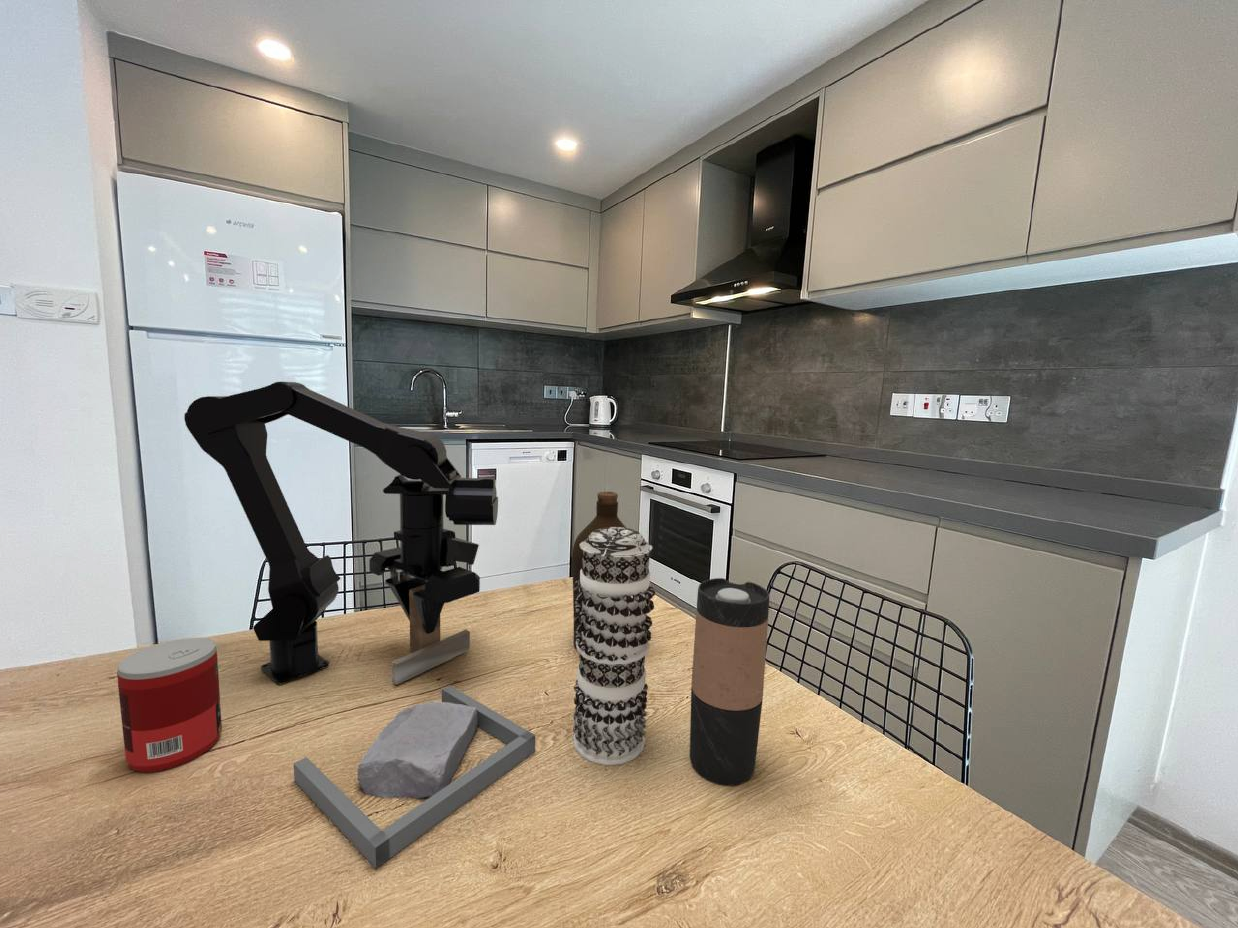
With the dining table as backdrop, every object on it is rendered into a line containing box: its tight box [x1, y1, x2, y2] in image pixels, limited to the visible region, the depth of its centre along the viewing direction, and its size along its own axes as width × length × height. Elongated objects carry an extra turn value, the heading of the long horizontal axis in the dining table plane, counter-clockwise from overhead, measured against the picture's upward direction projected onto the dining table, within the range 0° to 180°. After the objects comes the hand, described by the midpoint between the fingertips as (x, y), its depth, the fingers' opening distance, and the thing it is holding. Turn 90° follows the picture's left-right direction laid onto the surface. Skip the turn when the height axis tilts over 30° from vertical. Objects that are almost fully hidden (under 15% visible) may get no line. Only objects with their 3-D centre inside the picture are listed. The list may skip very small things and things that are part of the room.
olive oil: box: [571, 491, 627, 650], centre depth 81 cm, size 11×11×25 cm
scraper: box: [391, 584, 471, 686], centre depth 74 cm, size 4×12×11 cm, turn 144°
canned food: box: [117, 637, 223, 773], centre depth 55 cm, size 8×8×11 cm
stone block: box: [357, 701, 478, 799], centre depth 56 cm, size 12×5×10 cm
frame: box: [293, 684, 536, 869], centre depth 54 cm, size 16×18×2 cm
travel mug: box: [689, 577, 770, 786], centre depth 55 cm, size 8×8×20 cm
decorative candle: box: [572, 527, 656, 766], centre depth 58 cm, size 9×9×25 cm
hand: (423, 629), depth 74 cm, fingers closed on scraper, 3 cm apart
